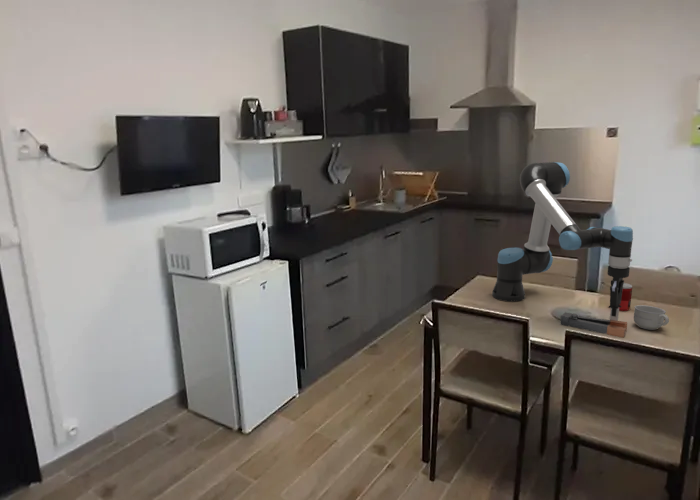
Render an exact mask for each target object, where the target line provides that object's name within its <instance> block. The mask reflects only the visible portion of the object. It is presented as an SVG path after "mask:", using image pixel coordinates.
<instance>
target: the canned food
mask: <svg viewBox="0 0 700 500" xmlns="http://www.w3.org/2000/svg"><path fill="white" fill-rule="evenodd" d="M632 294H633V285H632V284H630V283H626V282H624V284H623V290H622V297H621V304H620V305H621V306H622V307H618V308H619V312H629V311H630V309H631V304H632V297H633V296H632Z"/></svg>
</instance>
